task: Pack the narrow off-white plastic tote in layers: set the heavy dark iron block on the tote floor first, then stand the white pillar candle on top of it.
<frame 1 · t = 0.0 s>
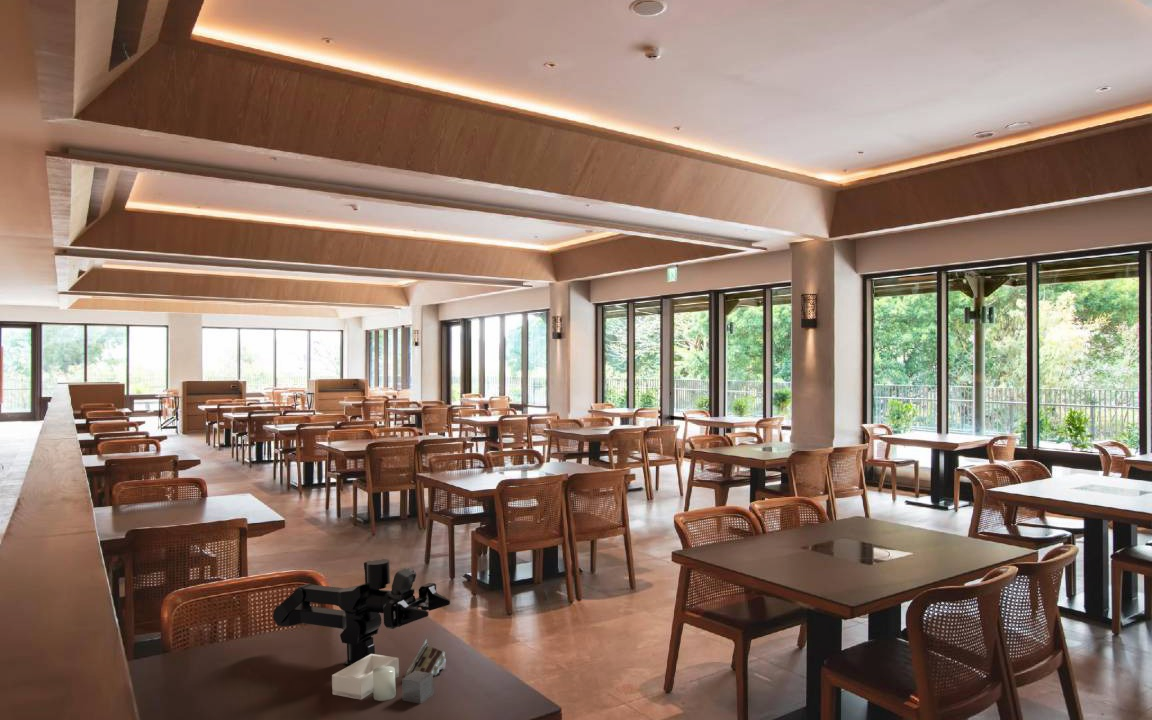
hand: (439, 608, 185), 17 cm above the table, tool horizontal, fingers open, 9 cm apart
tote: (366, 684, 180), on the table
chocolate cake: (428, 675, 186), on the table
iron block: (418, 697, 172), on the table
white pillar candle: (384, 696, 174), on the table
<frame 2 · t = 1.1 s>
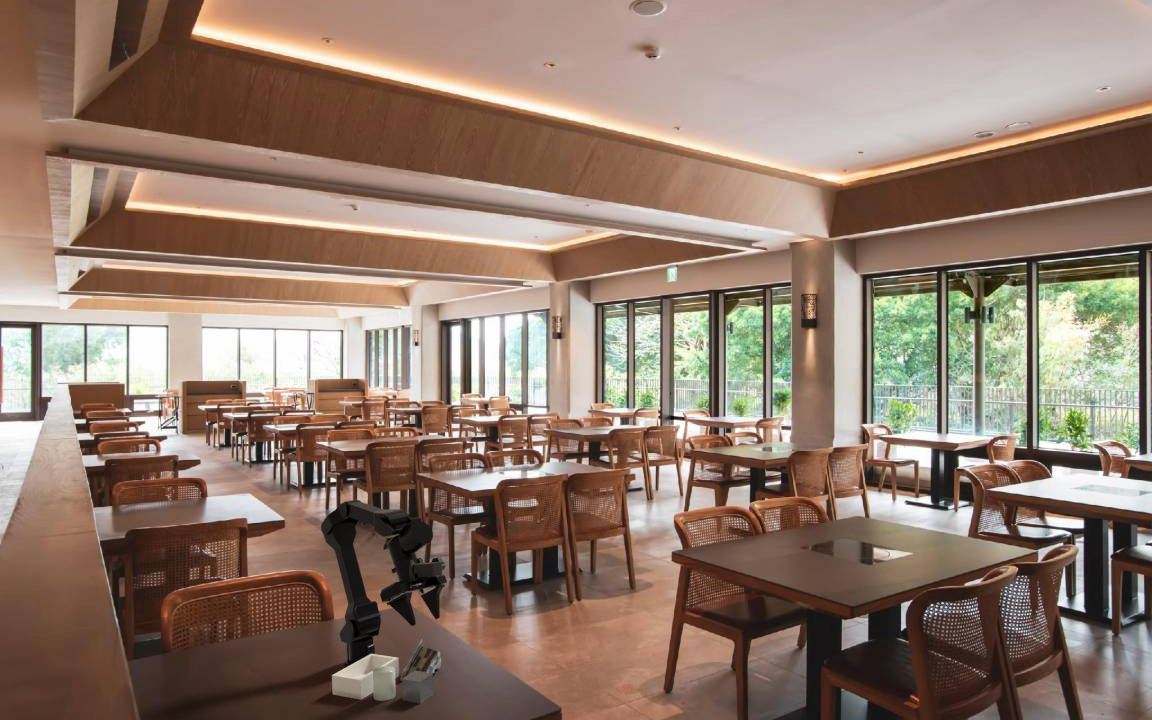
hand: (426, 621, 176), 16 cm above the table, tool tilted 30°, fingers open, 9 cm apart
chocolate cake: (423, 675, 186), on the table
everything else where it was.
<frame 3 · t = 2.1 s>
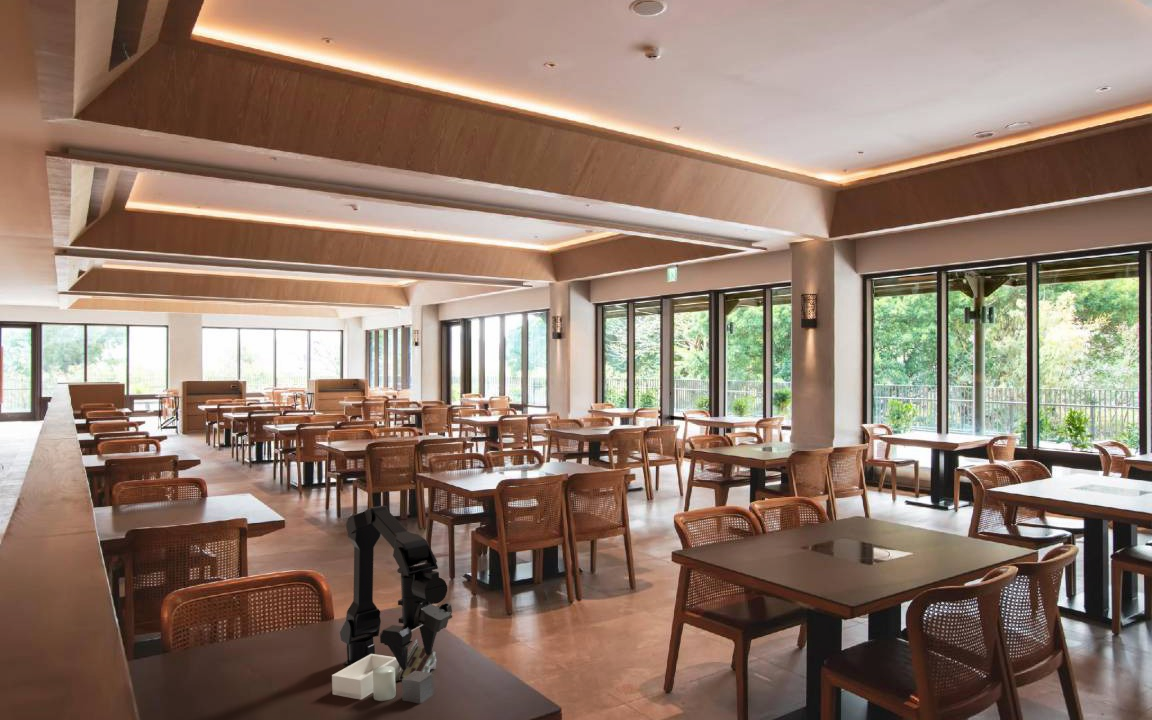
hand: (416, 661, 172), 8 cm above the table, tool pointing down, fingers open, 9 cm apart
chocolate cake: (418, 675, 186), on the table
everything else where it was.
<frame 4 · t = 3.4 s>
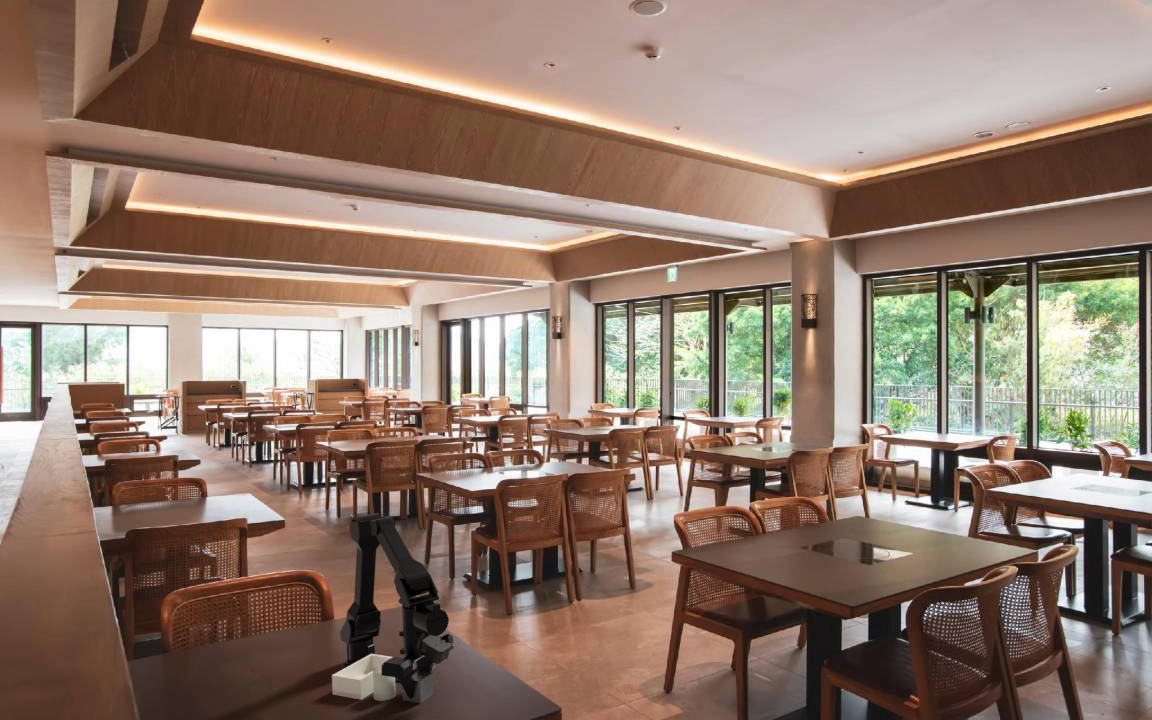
hand: (418, 692, 172), 1 cm above the table, tool pointing down, fingers closed on iron block, 5 cm apart
iron block: (418, 697, 172), on the table, touching gripper
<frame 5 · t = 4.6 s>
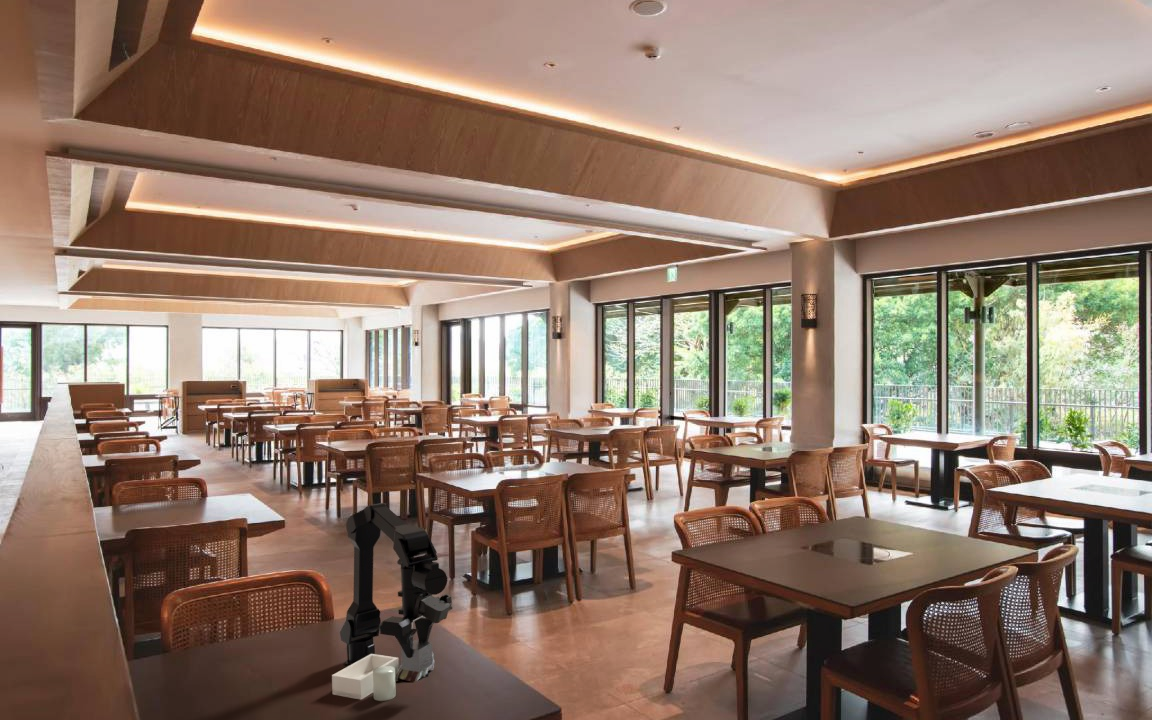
hand: (416, 653, 172), 10 cm above the table, tool pointing down, fingers closed on iron block, 5 cm apart
iron block: (417, 666, 172), point 7 cm above the table, touching gripper
everything else where it was.
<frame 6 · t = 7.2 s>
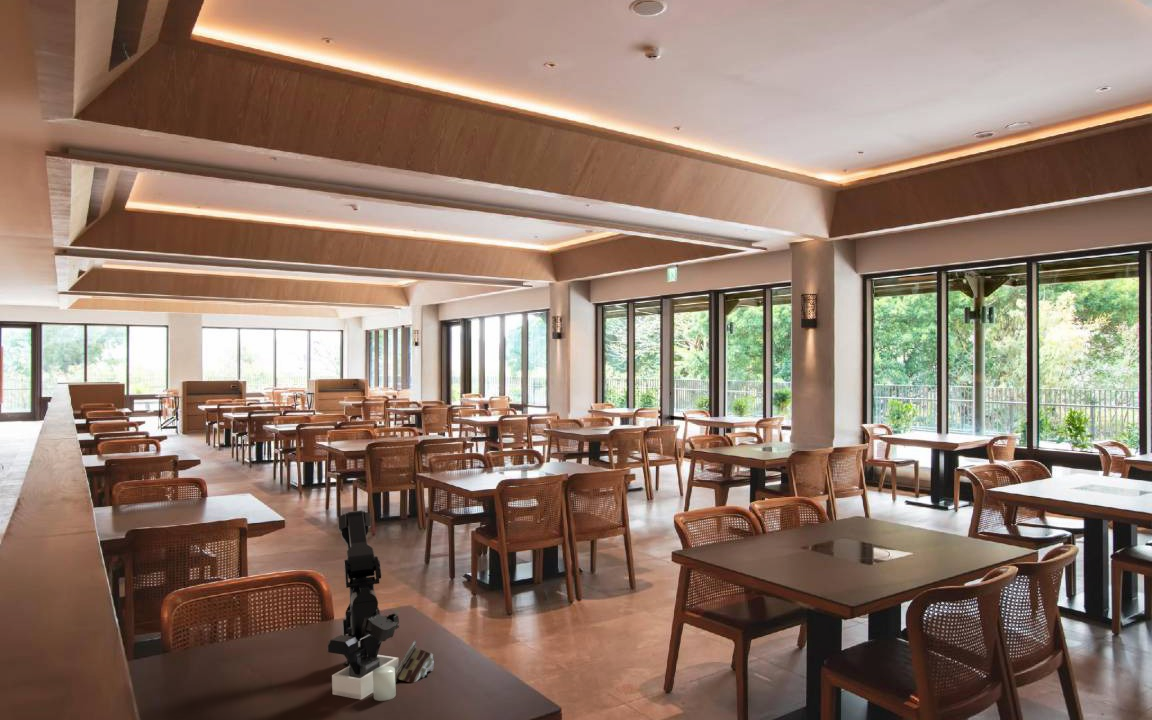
hand: (365, 669, 180), 4 cm above the table, tool pointing down, fingers closed on iron block, 5 cm apart
iron block: (365, 681, 180), point 1 cm above the table, touching gripper, tote
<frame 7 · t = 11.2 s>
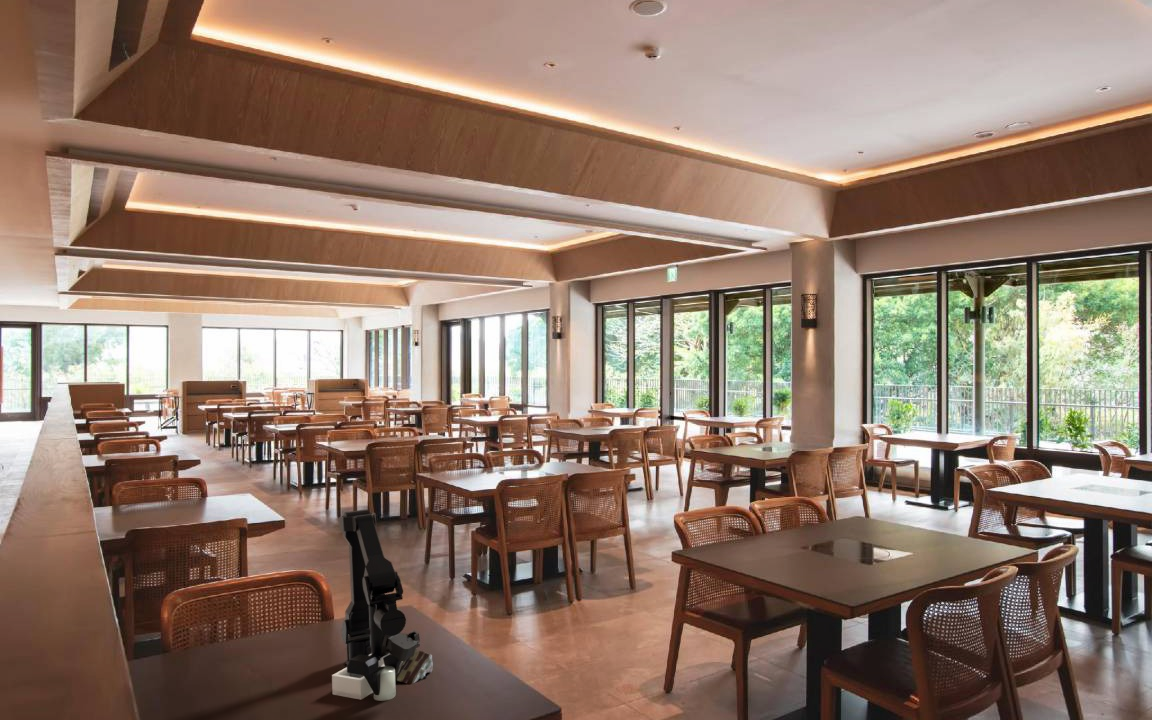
hand: (384, 690, 174), 1 cm above the table, tool pointing down, fingers closed on white pillar candle, 5 cm apart
iron block: (365, 681, 180), point 1 cm above the table, touching tote
white pillar candle: (384, 696, 174), on the table, touching gripper
when the fingers open (9 cm above the table, at t = 13.8 s): white pillar candle drops 1 cm, resting on iron block.
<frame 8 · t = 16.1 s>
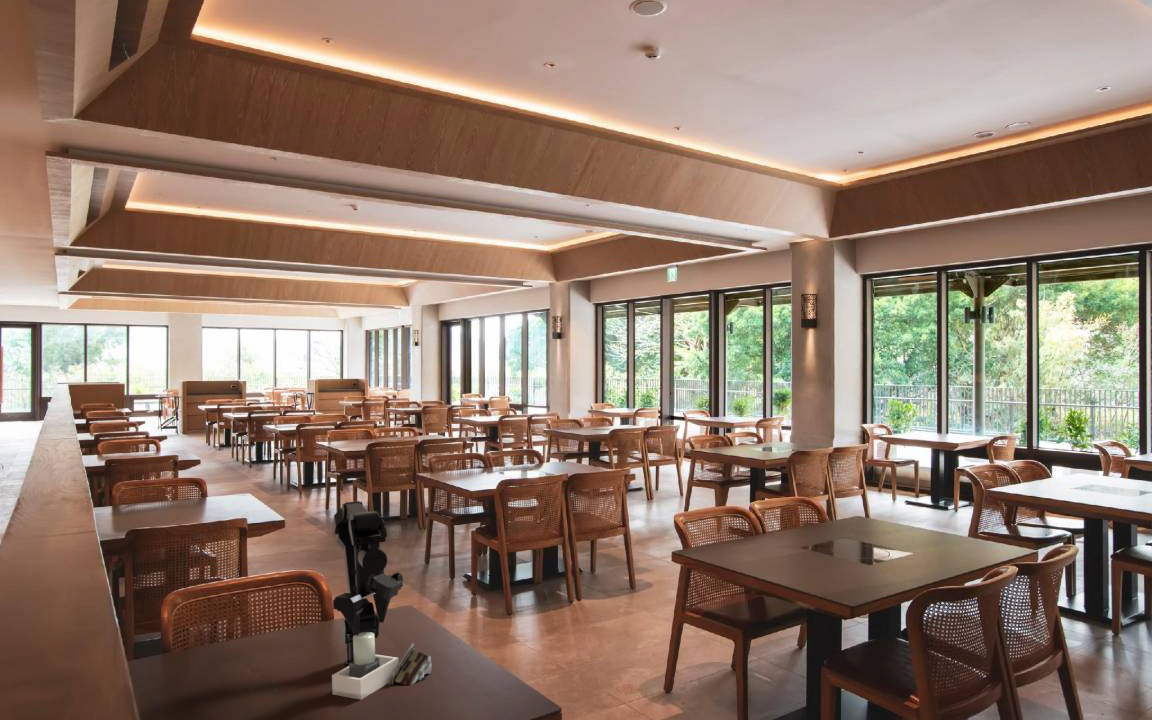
hand: (369, 628, 182), 13 cm above the table, tool pointing down, fingers open, 9 cm apart
iron block: (365, 681, 180), point 1 cm above the table, touching white pillar candle, tote
white pillar candle: (364, 660, 180), point 6 cm above the table, touching iron block
at the end: iron block inside the target area on the tote (0.4 cm from its centre), point 1.0 cm above the tote's base; white pillar candle 0.2 cm off-centre on the iron block, point 5.0 cm above the iron block's base; white pillar candle tilted 1° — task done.
